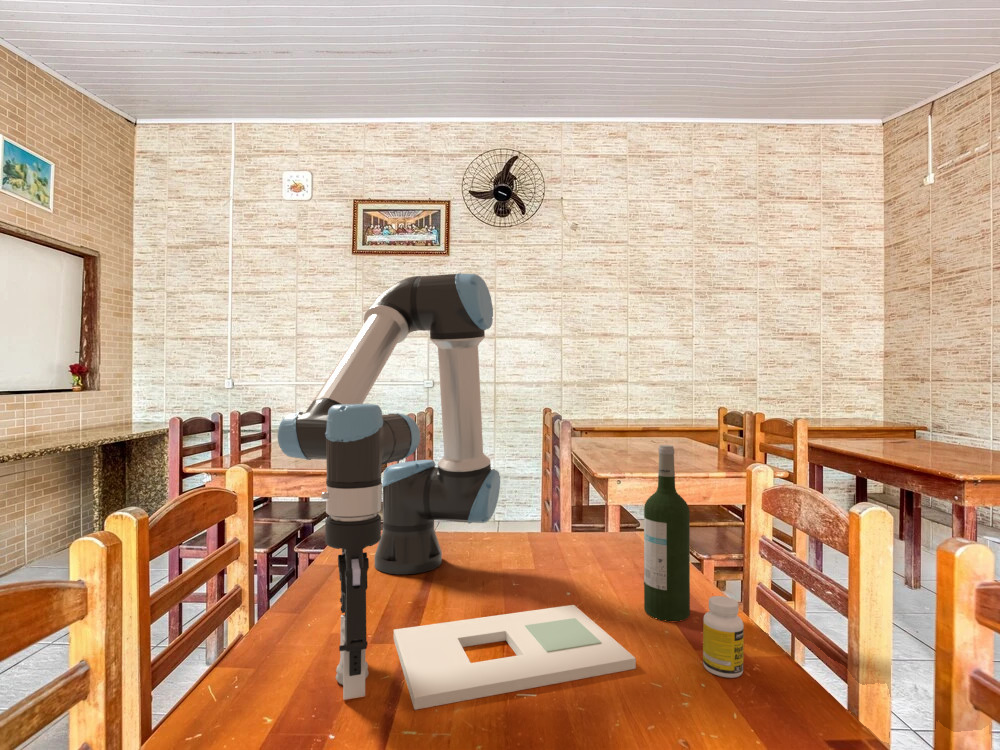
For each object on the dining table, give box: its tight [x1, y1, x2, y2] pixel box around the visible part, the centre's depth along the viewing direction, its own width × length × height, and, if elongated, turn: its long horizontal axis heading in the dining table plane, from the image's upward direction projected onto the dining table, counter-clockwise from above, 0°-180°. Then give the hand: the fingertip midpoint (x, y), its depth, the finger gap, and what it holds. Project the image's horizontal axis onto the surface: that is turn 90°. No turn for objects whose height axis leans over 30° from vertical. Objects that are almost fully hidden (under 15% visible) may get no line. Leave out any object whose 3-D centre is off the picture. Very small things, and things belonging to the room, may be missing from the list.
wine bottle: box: [643, 444, 691, 622], centre depth 98 cm, size 8×8×30 cm
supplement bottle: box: [702, 595, 745, 679], centre depth 78 cm, size 5×5×10 cm
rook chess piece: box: [335, 620, 369, 686], centre depth 75 cm, size 4×4×8 cm
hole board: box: [393, 604, 637, 711], centre depth 83 cm, size 20×32×2 cm, turn 108°
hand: (351, 676), depth 75 cm, fingers open, 9 cm apart
